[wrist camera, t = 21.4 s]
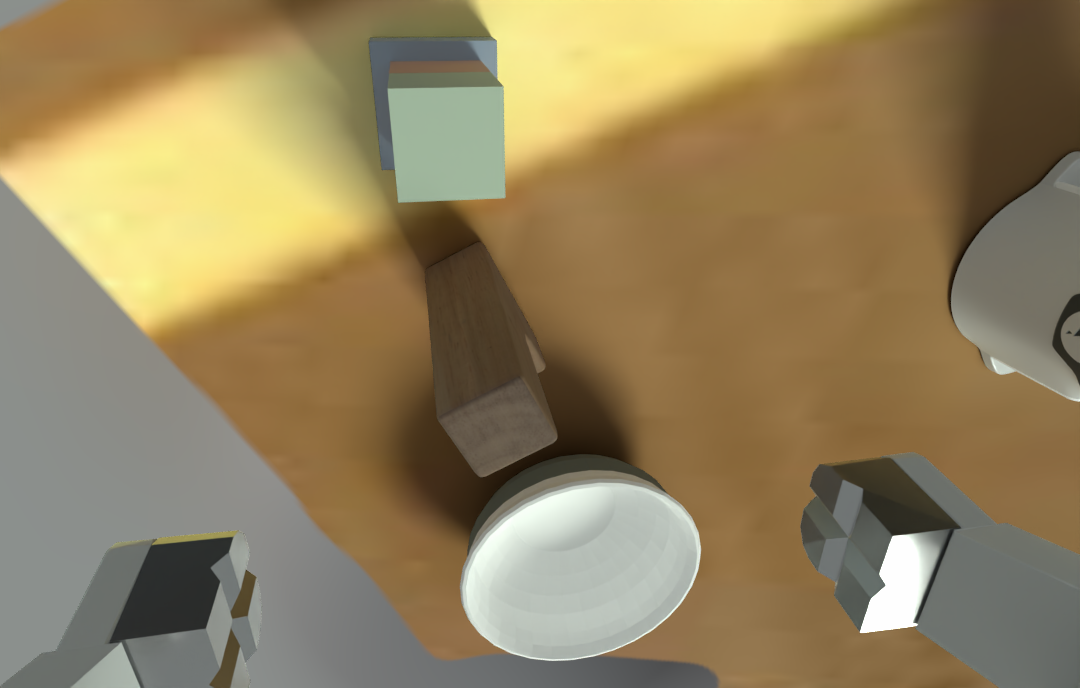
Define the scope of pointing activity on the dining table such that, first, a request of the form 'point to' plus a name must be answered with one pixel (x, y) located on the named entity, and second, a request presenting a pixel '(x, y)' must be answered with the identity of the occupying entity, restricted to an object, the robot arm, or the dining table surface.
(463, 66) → the pinkish brown cube
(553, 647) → the bowl
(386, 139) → the slate blue block
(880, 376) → the dining table surface
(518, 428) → the wooden block
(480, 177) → the sage green cube
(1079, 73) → the dining table surface
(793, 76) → the dining table surface
